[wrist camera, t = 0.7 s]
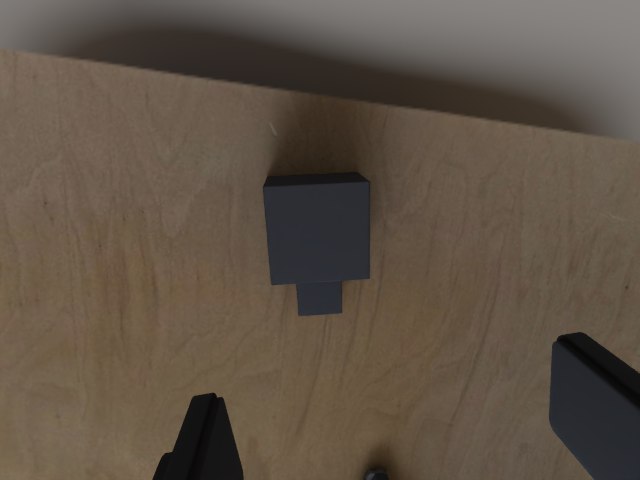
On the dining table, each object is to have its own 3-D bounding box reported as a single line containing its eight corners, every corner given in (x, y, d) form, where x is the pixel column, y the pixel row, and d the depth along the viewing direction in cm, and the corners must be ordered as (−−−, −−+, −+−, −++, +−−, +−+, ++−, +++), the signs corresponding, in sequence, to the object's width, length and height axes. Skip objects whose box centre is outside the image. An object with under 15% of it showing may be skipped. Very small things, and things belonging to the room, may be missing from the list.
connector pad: (277, 304, 28) (275, 334, 24) (267, 176, 25) (262, 186, 21) (359, 299, 28) (369, 326, 24) (358, 171, 25) (369, 181, 22)
